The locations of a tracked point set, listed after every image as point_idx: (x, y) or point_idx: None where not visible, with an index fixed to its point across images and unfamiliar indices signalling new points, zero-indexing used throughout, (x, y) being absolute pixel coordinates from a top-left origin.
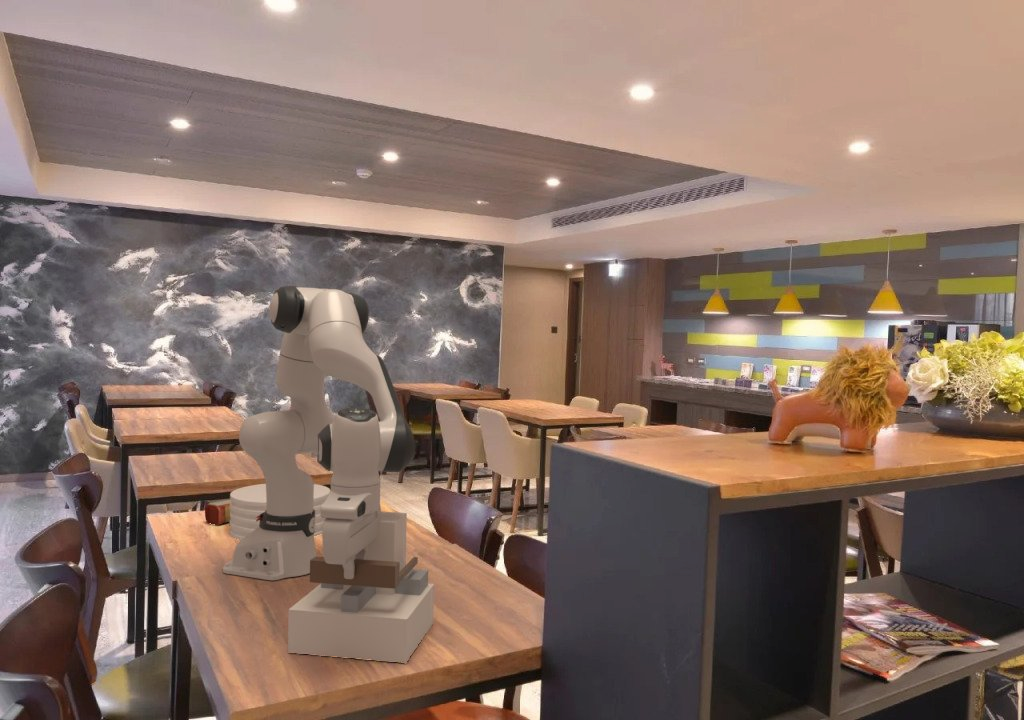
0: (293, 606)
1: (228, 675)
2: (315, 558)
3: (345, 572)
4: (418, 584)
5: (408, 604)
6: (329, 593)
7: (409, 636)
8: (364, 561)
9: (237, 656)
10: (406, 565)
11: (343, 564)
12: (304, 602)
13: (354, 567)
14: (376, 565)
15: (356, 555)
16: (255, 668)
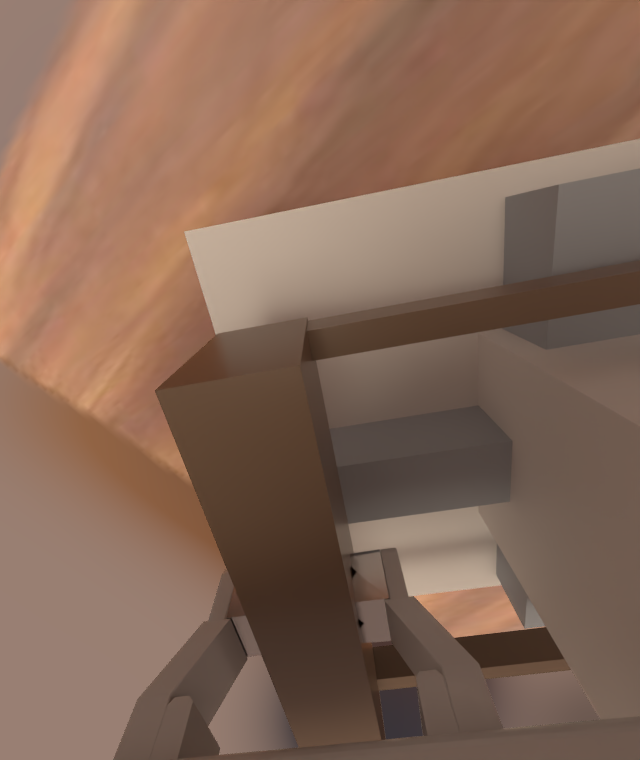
0: (224, 229)
1: (33, 156)
2: (236, 401)
3: (217, 604)
4: (514, 606)
5: (408, 576)
6: (436, 289)
7: None
8: (331, 694)
9: (137, 76)
10: (550, 663)
11: (171, 669)
12: (289, 248)
13: (236, 669)
14: (298, 745)
15: (412, 641)
16: (111, 206)
